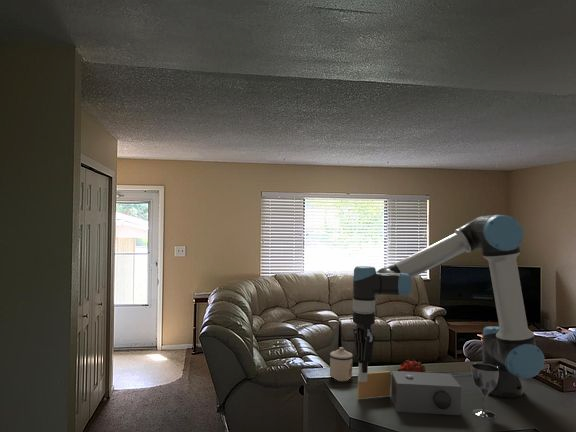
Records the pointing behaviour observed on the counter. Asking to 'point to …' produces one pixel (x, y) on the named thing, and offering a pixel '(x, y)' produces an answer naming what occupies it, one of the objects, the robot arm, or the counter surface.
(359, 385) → the door
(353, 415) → the counter surface
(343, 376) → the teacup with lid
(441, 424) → the counter surface
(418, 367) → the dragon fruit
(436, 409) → the camera case
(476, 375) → the wine glass
